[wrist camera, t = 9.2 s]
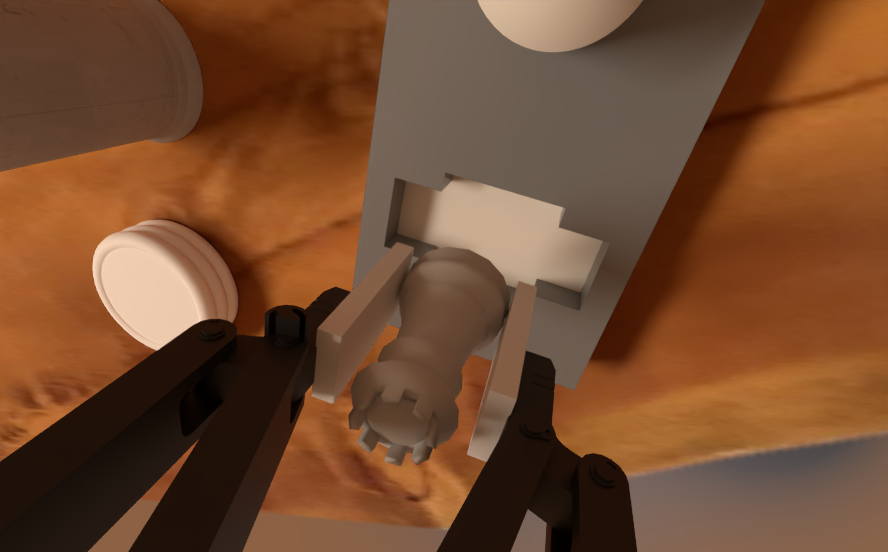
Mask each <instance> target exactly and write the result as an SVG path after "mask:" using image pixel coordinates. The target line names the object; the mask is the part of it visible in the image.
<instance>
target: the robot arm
mask: <svg viewBox="0 0 888 552" xmlns="http://www.w3.org/2000/svg"><path fill="white" fill-rule="evenodd" d="M413 251H414V247H411V246H408V245H405V244H402V243H398V242H397V243H396V244H395V245H394V246H393V247H392V248H391V249H390V250H389V251H388V252H387V253H386V255H385V256H384V257H383V258H382V259H381V260H380V261H379V262H378V263H377V264H376V265H375V266H374V268H373V269H372V270H371V271H370V272H369V273H368V274H367V275H366V276H365V277H364V278H363V279H362V281H361V282H360V283H359V284H358V285H357V286H356V287H355V288H354V289H353V290H352V291H351V292H350V291H347V290H344V289H341V288H338V287H334V288H331V289H329V290H327V291H324V292H323V293H322V294H321V295H320V296H319V297H318V298H317V299H316V300H315V301H314V302H312V303H311V304H310V306H309V307H307V308H306V309H305V310H304V309H303V308H300V307H297V306H293V305H282V306H277V307H274V308H272V309H270V310H268V311H267V312H266V313H265V336H264V337H257V336H246V335H237V328H236V327H235V325H234V324H233V323H231V322H229V321H228V320H223V319H207V320H203V321H200V322H198V323H196V324H194V325H192V326H191V327H190V328H188V329H187V330H185V331H184V332H183V333H181V334H180V335H178V336H177V337H176V338H174V339H173V340H171V341H170V342H168V343H167V344H166V345H164V346H163V347H161V348H160V349H159V350H157V351H156V352H154V353H153V354H152V355H150V356H149V357H147V358H146V359H144V360H143V361H142V362H140V363H139V364H137V365H136V366H135V367H133V368H132V369H130V370H129V371H128V372H126V373H125V374H123V375H122V376H120V377H119V378H118V379H116V380H115V381H113V382H112V383H111V384H109V385H108V386H106V387H105V388H104V389H102V390H101V391H99V392H98V393H97V394H95V395H94V396H92V397H91V398H89V399H88V400H87V401H85V402H84V403H82V404H81V405H80V406H78V407H77V408H75V409H74V410H73V411H71V412H70V413H68V414H67V415H65V416H64V417H63V418H61V419H60V420H58V421H57V422H56V423H54V424H53V425H51V426H50V427H49V428H47V429H46V430H44V431H43V432H41V433H40V434H39V435H37V436H36V437H34V438H33V439H32V440H30V441H29V442H27V443H26V444H25V445H23V446H22V447H20V448H19V449H17V450H16V451H15V452H13V453H12V454H10V455H9V456H8V457H6V458H5V459H3V460H2V461H1V462H0V552H88V551H89V550H90V549H91V548H92V547H93V545H94V544H96V542H97V541H98V540H99V539H100V538H101V537H102V536H103V535H104V534H105V533H106V532H107V531H108V530H109V529H110V528H111V527H112V526H113V525H114V524H115V523H116V522H117V521H118V520H119V519H120V518H121V517H122V516H123V515H124V514H125V513H126V512H127V511H128V510H129V509H130V508H131V507H132V506H133V505H134V504H135V503H136V502H137V501H138V500H139V499H140V498H141V497H142V496H143V495H144V494H145V493H146V492H147V491H148V490H149V489H150V488H151V487H152V486H153V485H154V484H155V483H156V482H157V481H158V480H159V479H160V478H161V477H162V476H163V475H164V474H165V473H166V472H167V471H168V470H169V469H170V468H171V467H172V466H173V465H174V464H175V463H176V462H177V461H178V460H179V459H180V458H181V457H182V455H183V454H184V453H185V452H186V451H187V450H188V449H189V448H190V447H191V446H192V445H193V444H194V443H195V442H196V441H197V440H198V439H199V438H200V439H199V441H198V442H197V444H196V445H195V447H194V448H193V450H192V452H191V453H190V455H189V456H188V458H187V460H186V461H185V463H184V464H183V466H182V467H181V469H180V471H179V472H178V474H177V475H176V477H175V479H174V480H173V482H172V483H171V485H170V487H169V488H168V490H167V491H166V493H165V494H164V496H163V498H162V499H161V501H160V502H159V504H158V506H157V507H156V509H155V510H154V512H153V514H152V515H151V517H150V518H149V520H148V521H147V523H146V525H145V526H144V528H143V529H142V531H141V533H140V534H139V536H138V537H137V539H136V541H135V542H134V544H133V545H132V547H131V548H130V550H129V552H242V551H243V549H244V546H245V544H246V542H247V539H248V537H249V534H250V532H251V530H252V527H253V525H254V522H255V520H256V518H257V515H258V513H259V511H260V508H261V506H262V503H263V501H264V499H265V496H266V494H267V491H268V489H269V487H270V484H271V482H272V480H273V477H274V475H275V472H276V470H277V468H278V465H279V463H280V460H281V458H282V456H283V453H284V451H285V448H286V446H287V444H288V441H289V439H290V436H291V434H292V432H293V429H294V427H295V425H296V422H297V420H298V417H299V415H300V413H301V410H302V408H303V405H304V399H305V393H306V391H307V390H308V389H309V388H310V386H311V385H312V396H313V397H316V398H318V399H321V400H324V401H326V402H329V403H332V404H334V402H335V401H336V399H337V398H338V396H339V395H340V394H341V392H342V391H343V389H344V388H345V386H346V385H347V383H348V382H349V380H350V379H351V377H352V376H353V375H354V373H355V372H356V370H357V369H358V367H359V366H360V364H361V363H362V361H363V360H364V358H365V357H366V356H367V354H368V353H369V351H370V350H371V348H372V347H373V345H374V344H375V342H376V341H377V339H378V338H379V337H380V335H381V334H382V332H383V331H384V329H385V328H386V326H387V325H388V323H389V322H390V320H391V319H392V318H393V316H394V315H395V313H396V312H397V310H398V309H399V293H400V289H401V287H402V285H403V282H404V280H405V278H406V276H407V274H408V273H409V271H410V266H411V261H412V256H413ZM536 291H537V287H536V286H533V285H530V284H526V283H523V282H520V281H519V282H518V284H517V287H516V290H515V293H514V296H513V299H512V302H511V305H510V308H509V311H508V314H507V317H506V319H505V322H504V325H503V328H502V331H501V334H500V337H499V341H498V344H497V348H496V351H495V355H494V359H493V362H492V366H491V369H490V373H489V377H488V380H487V384H486V387H485V391H484V395H483V398H482V402H481V405H480V409H479V412H478V416H477V420H476V423H475V427H474V430H473V434H472V438H471V441H470V445H469V448H468V452H467V455H470V456H472V457H475V458H478V459H480V460H483V461H486V464H485V466H484V468H483V469H482V471H481V473H480V475H479V477H478V478H477V480H476V482H475V484H474V486H473V487H472V489H471V491H470V493H469V495H468V496H467V498H466V500H465V502H464V504H463V505H462V507H461V509H460V511H459V513H458V514H457V516H456V518H455V520H454V522H453V523H452V525H451V527H450V529H449V531H448V532H447V534H446V536H445V538H444V540H443V541H442V543H441V545H440V547H439V549H438V550H437V552H510V551H511V549H512V547H513V544H514V541H515V539H516V537H517V534H518V532H519V529H520V527H521V524H522V522H523V519H524V517H525V514H526V512H527V509H529V510H530V511H531V512H533V513H534V514H536V515H537V516H538V517H539V518H541V519H542V520H543V521H545V522H546V523H547V527H546V544H545V552H637V547H636V538H635V530H634V522H633V514H632V506H631V498H630V490H629V483H628V480H627V477H626V475H625V473H624V472H623V471H622V469H621V468H620V467H619V466H618V465H617V464H616V463H615V462H614V461H612V460H611V459H609V458H607V457H605V456H603V455H599V454H594V453H592V454H587V455H585V456H584V457H583V458H581V457H580V456H578V455H577V454H575V453H574V452H572V451H570V450H569V449H568V448H567V447H565V446H564V445H563V444H562V443H561V442H560V441H559V440H558V438H557V437H556V433H555V431H554V428H553V426H552V413H553V401H554V388H555V375H556V369H555V367H554V365H553V363H552V361H551V359H550V358H547V357H544V356H541V355H538V354H535V353H532V352H529V351H526V346H527V340H528V335H529V329H530V324H531V318H532V313H533V307H534V302H535V296H536Z"/></svg>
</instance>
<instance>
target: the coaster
mask: <svg viewBox="0 0 888 552" xmlns="http://www.w3.org/2000/svg"><path fill="white" fill-rule="evenodd" d="M93 276H94V281H95V285H96V288H97V291H98V293H99V295H100V298H101V300H102V301H103V303H104V305H105V307H106V308H107V310H108V311H109V313H110V314H111V315H112V316H113V318H114V319H115V320H116V321H117V322H118V323H119V324H120V326H121V327H122V328H124V329H125V330H126V331H127V332H128V333H129V334H130V335H131V336H133V337H134V338H135V339H137V340H138V341H140V342H141V343H143V344H145V345H147V346H148V347H150V348H153V349H155V350H159V349H160V348H161V347H163V346H164V345H166V344H167V343H168V342H170V341H171V340H173V339H174V338H176V337H177V336H178V335H180V334H181V333H183V332H184V331H185V330H187V329H188V328H190V327H191V326H192V325H194V324H196V323H198V322H200V321H203V320H207V319H223V320H228V321H229V322H231V323H233V321H234V319H235V317H236V314H237V310H238V293H237V288H236V285H235V281H234V279H233V276H232V274H231V272H230V270H229V268H228V266H227V264H226V263H225V261H224V260H223V258H222V257H221V256H220V255H219V253H218V252H217V251H216V250H215V249H214V248H213V247H212V245H211V244H209V243H208V242H207V241H206V240H205V239H204V238H203V237H201V236H200V235H199V234H197V233H196V232H194V231H193V230H191V229H189V228H187V227H185V226H183V225H181V224H178V223H175V222H172V221H168V220H160V219H159V220H147V221H143V222H140V223H138V224H137V225H135V226H131V227H128V228H126V229H124V230H122V231H120V232H116V233H113V234H111V235H109V236H108V237H106V238H105V239H104V240H103V241H102V242H101V243H100V244H99V245H98V247H97V249H96V251H95V254H94V258H93Z"/></svg>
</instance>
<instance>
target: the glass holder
mask: <svg viewBox="0 0 888 552" xmlns="http://www.w3.org/2000/svg"><path fill="white" fill-rule="evenodd" d="M202 104H203V80H202V75H201V69H200V65H199V62H198V59H197V56H196V53H195V51H194V48H193V46H192V44H191V42H190V40H189V38H188V36H187V34H186V33H185V31H184V29H183V28H182V26H181V25H180V23H179V22H178V21H177V19H176V18H175V17H174V15H173V14H172V13H171V12H170V11H169V10H168V9H167V8H166V7H165V6H164V5H163V4H162V3H161V2H159V1H158V0H0V172H1V171H6V170H10V169H15V168H19V167H24V166H28V165H33V164H38V163H42V162H47V161H51V160H56V159H60V158H65V157H70V156H74V155H79V154H83V153H88V152H92V151H97V150H102V149H106V148H111V147H115V146H120V145H124V144H129V143H134V142H138V141H143V140H148V141H152V142H159V143H165V142H173V141H177V140H180V139H181V138H183V137H185V136H186V135H188V134H189V132H190V131H191V130H192V129H193V128H194V126H195V125H196V123H197V121H198V119H199V116H200V113H201V110H202Z"/></svg>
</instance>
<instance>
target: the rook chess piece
mask: <svg viewBox="0 0 888 552" xmlns="http://www.w3.org/2000/svg"><path fill="white" fill-rule="evenodd" d="M509 303H510V293H509V290H508V287H507V285H506V282H505V279H504V276H503V275H502V274H501V273H500V272H499V271H498V269H497V268H496V267H495V266H494V265H493V264H492V263H491V261H490V260H488V259H486V258H484V257H483V256H481V255H479V254H477V253H475V252H473V251H471V250H469V249H462V248H454V247H444V248H440V249H436V250H432V251H428V252H427V253H425V254H424V255H423V256H422V257H420V258H419V259H418V260H417V261H415V262H414V263H413V265H412V267H411V269H410V271H409V273H408V274H407V276H406V278H405V280H404V282H403V285H402V287H401V289H400V293H399V312H400V315H401V327H400V330H399V333H398V335H397V338H396V339H394V340H393V341H392V342H390V343H389V344H387V345H386V346H384V347H383V349H382V351H381V353H380V355H379V357H378V363H372V364H370V365H369V366H367V367H366V368H364V369H363V370H361V371H360V372H359V373H357V375H356V378H355V380H354V382H353V384H352V386H351V394H352V404H353V409H352V411H351V412H350V414H349V416H348V417H349V427H350V429H357V430H359V429H360V427H361V426H362V428H363V432H362V434H361V436H360V438H359V439H358V441H357V443H358V444H359V445H361V446H362V447H363V448H364V449H365V450H366V451H367V452H368V453H370V452H371V451H372V450H373V449H374V448H375V446H376V444H377V442H378V443H379V444H381V445H383V446H385V447H387V448H389V450H388V452H387V454H386V458H385V462H387V463H391V464H395V465H399V466H401V465H402V462H403V460H404V458H405V455H406V453H413V454H412V456H411V459H412V460H413V461H414V463H415V464H416V465H418V464H420V463H422V462H424V461H426V460H428V459H429V457H430V454H431V451H432V449H433V448H435V449H436V447H437V446H438V445H440V444H442V443H444V442H446V441H448V440H449V439H450V437H451V436H452V435H453V433H454V432H455V430H456V429H457V427H458V413H459V410H458V408H457V405H456V403H455V401H454V400H455V399H456V397H457V396H458V394H459V393H460V391H461V390H462V378H463V375H462V373H461V370H462V367H463V366H464V364H465V362H466V361H467V359H468V357H469V356H471V355H473V354H474V353H476V352H478V351H479V350H481V349H483V348H484V347H486V346H488V345H489V344H491V343H492V341H493V340H494V339H495V337H496V336H497V334H498V333H499V331H500V330H501V328H502V327H503V325H504V320H505V318H506V317H507V314H508V311H509Z"/></svg>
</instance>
